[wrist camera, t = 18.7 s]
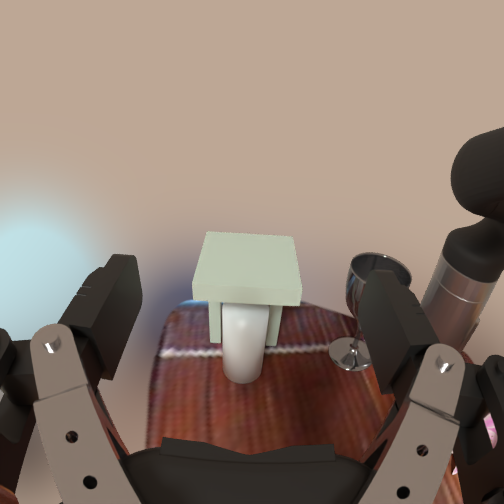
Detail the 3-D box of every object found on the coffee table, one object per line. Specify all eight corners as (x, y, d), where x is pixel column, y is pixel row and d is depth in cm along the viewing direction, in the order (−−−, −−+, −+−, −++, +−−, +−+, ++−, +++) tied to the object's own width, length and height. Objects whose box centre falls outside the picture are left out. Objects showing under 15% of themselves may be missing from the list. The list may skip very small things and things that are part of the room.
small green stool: (277, 337, 46) (292, 236, 37) (280, 392, 37) (302, 289, 28) (209, 333, 46) (207, 231, 37) (201, 388, 37) (192, 283, 28)
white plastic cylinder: (268, 364, 41) (277, 304, 36) (248, 389, 37) (254, 331, 32) (236, 348, 44) (238, 288, 38) (215, 372, 40) (213, 311, 34)
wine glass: (318, 361, 42) (343, 275, 34) (335, 327, 48) (358, 246, 40) (369, 380, 39) (408, 298, 31) (381, 344, 45) (414, 264, 37)
